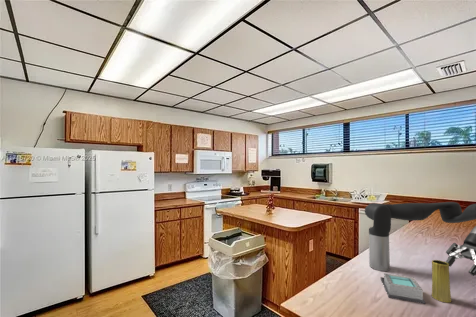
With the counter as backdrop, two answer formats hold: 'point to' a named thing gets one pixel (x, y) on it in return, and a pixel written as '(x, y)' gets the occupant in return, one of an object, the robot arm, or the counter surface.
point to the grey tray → (403, 289)
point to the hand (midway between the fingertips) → (458, 269)
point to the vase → (440, 281)
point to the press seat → (401, 282)
